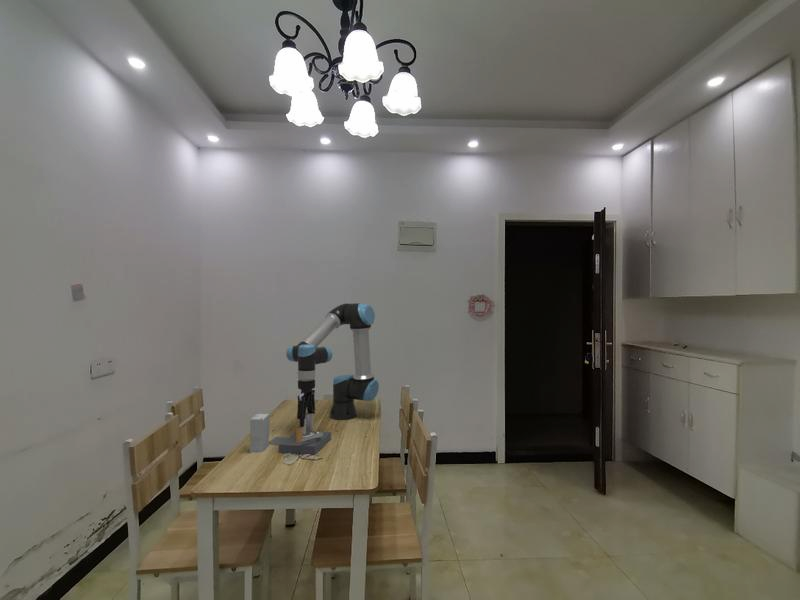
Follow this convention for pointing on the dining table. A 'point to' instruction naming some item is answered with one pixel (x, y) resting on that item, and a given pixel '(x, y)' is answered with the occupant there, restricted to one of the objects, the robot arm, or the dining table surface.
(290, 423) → the dining table surface
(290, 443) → the socket block
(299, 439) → the clip
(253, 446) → the skincare box
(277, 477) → the dining table surface
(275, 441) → the pad
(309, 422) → the plug
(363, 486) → the dining table surface
